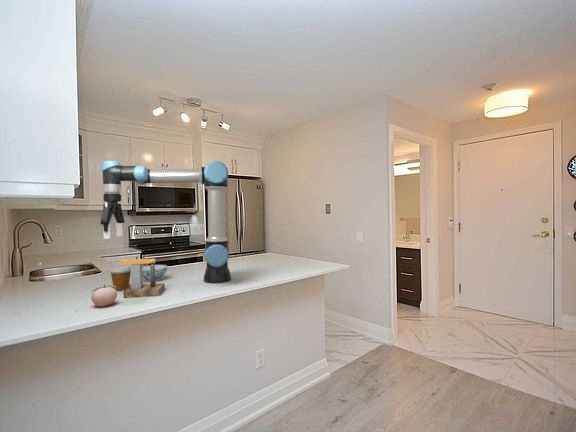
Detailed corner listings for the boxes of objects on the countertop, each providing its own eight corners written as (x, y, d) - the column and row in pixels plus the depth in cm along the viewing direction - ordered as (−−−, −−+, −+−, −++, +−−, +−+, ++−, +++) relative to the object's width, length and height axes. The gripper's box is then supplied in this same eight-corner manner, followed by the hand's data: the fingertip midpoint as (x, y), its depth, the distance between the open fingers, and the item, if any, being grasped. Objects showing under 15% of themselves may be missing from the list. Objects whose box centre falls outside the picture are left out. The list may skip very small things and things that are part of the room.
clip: (156, 262, 145) (156, 258, 145) (154, 263, 142) (154, 259, 142) (121, 263, 142) (121, 259, 142) (119, 264, 139) (119, 260, 139)
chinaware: (165, 276, 184) (164, 263, 184) (169, 281, 171) (169, 267, 171) (137, 279, 176) (137, 266, 176) (140, 285, 164) (139, 270, 163)
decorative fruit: (96, 313, 119) (95, 287, 119) (89, 309, 125) (88, 284, 124) (121, 307, 126) (120, 283, 126) (114, 303, 132) (113, 280, 132)
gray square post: (143, 292, 145) (142, 263, 144) (140, 294, 141) (139, 264, 140) (134, 293, 144) (133, 263, 144) (131, 295, 140) (130, 265, 140)
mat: (149, 299, 136) (149, 297, 136) (143, 306, 127) (143, 303, 127) (127, 301, 135) (127, 298, 135) (120, 307, 126) (119, 305, 126)
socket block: (164, 291, 150) (164, 261, 150) (159, 298, 139) (158, 265, 138) (132, 293, 148) (131, 262, 147) (123, 300, 136) (122, 267, 135)
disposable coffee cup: (122, 294, 146) (122, 269, 145) (105, 293, 148) (104, 269, 147) (136, 289, 155) (135, 265, 155) (120, 288, 157) (119, 265, 157)
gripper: (115, 194, 159) (116, 235, 160) (90, 192, 134) (92, 240, 135) (130, 194, 160) (131, 234, 161) (108, 191, 135) (110, 239, 136)
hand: (113, 237), depth 148 cm, fingers open, 13 cm apart
